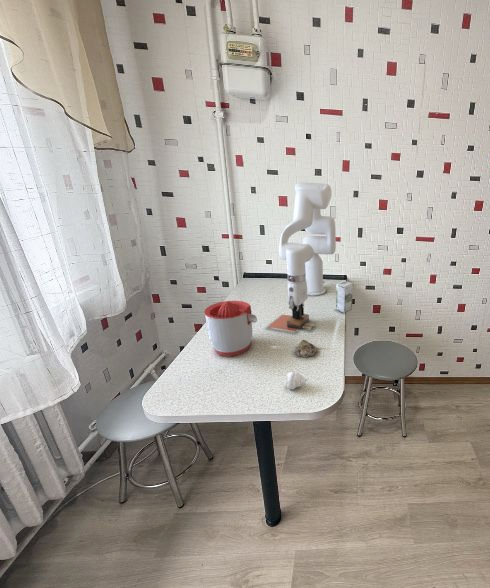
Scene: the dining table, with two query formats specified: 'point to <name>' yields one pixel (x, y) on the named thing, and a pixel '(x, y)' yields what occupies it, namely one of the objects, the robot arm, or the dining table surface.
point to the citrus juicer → (230, 327)
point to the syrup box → (344, 296)
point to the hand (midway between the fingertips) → (298, 316)
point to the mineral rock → (306, 349)
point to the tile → (282, 323)
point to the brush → (298, 320)
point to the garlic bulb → (295, 380)
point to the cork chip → (308, 326)
